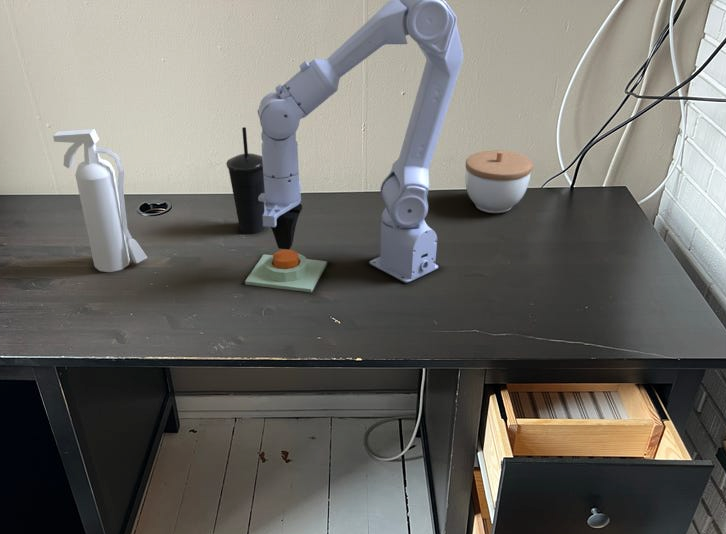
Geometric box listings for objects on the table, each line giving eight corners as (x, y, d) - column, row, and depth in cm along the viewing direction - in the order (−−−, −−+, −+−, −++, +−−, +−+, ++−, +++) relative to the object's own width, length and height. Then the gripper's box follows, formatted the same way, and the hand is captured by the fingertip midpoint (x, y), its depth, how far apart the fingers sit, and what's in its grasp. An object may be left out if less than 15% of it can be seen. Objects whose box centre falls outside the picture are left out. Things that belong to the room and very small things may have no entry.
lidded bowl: (537, 213, 144) (547, 159, 137) (478, 222, 142) (484, 168, 135) (507, 189, 154) (515, 137, 147) (451, 197, 152) (456, 145, 145)
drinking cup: (273, 220, 147) (267, 120, 135) (269, 237, 141) (262, 134, 129) (236, 220, 148) (226, 121, 136) (230, 237, 142) (219, 135, 130)
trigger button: (301, 259, 129) (301, 250, 128) (294, 271, 126) (294, 262, 125) (278, 256, 130) (277, 248, 129) (270, 268, 127) (269, 260, 126)
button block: (326, 264, 132) (326, 252, 130) (311, 292, 124) (311, 279, 122) (263, 257, 135) (262, 245, 133) (245, 284, 127) (243, 272, 126)
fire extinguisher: (141, 276, 131) (115, 138, 117) (79, 271, 134) (46, 136, 119) (154, 258, 137) (131, 124, 122) (94, 253, 139) (65, 122, 124)
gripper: (271, 153, 125) (276, 226, 133) (242, 187, 114) (248, 264, 122) (311, 156, 123) (313, 230, 131) (285, 191, 112) (289, 269, 120)
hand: (285, 247), depth 126 cm, fingers closed
